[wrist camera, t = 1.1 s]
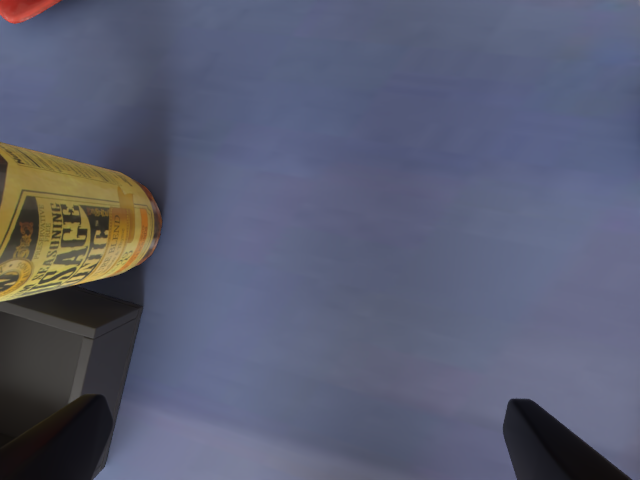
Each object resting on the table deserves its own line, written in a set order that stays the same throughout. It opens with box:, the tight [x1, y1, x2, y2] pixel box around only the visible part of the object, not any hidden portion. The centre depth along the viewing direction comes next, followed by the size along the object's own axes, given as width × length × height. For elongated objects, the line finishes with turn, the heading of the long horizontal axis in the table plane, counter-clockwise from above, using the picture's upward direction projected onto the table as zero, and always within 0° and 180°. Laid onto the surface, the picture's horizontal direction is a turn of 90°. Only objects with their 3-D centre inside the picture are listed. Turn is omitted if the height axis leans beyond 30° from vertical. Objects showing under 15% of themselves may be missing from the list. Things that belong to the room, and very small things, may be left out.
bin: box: [0, 286, 143, 480], centre depth 22 cm, size 11×11×4 cm
